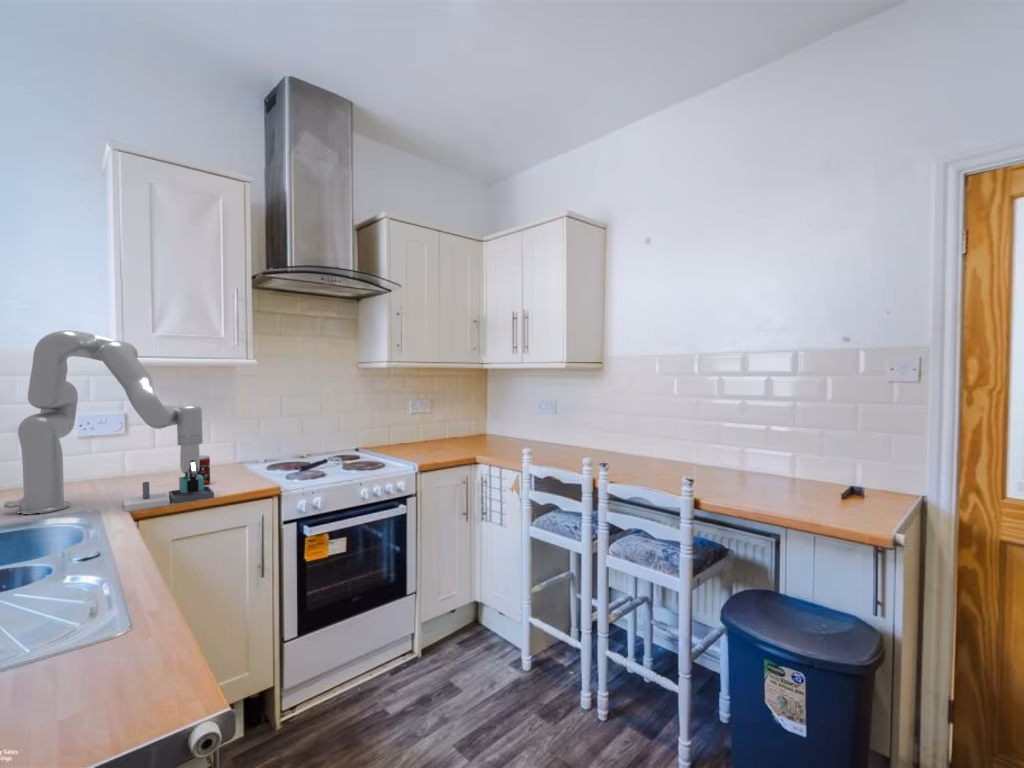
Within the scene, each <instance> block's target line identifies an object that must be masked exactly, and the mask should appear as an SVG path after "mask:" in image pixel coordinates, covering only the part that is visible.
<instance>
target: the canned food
mask: <svg viewBox="0 0 1024 768" xmlns="http://www.w3.org/2000/svg"><path fill="white" fill-rule="evenodd" d="M199 457H200V468H199V471H198V472H197V475H201V476H202V477H203V478H204V486H209V484H210V483H211V463H210V462H211V460H210V456H209V455H205V454H204V455H199Z"/></svg>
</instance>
